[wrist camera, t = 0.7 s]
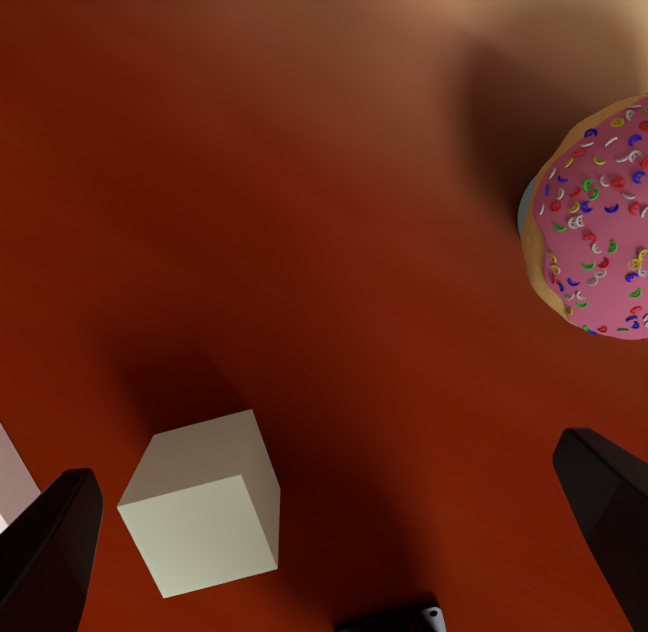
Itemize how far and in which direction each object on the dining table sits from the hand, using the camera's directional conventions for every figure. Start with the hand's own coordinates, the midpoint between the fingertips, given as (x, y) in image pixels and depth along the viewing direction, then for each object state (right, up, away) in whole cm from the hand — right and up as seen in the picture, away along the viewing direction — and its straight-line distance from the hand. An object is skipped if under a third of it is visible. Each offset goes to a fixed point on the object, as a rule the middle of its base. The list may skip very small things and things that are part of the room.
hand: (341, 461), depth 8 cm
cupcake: (+11, +8, +12) cm, 17 cm away
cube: (-6, -5, +14) cm, 16 cm away
